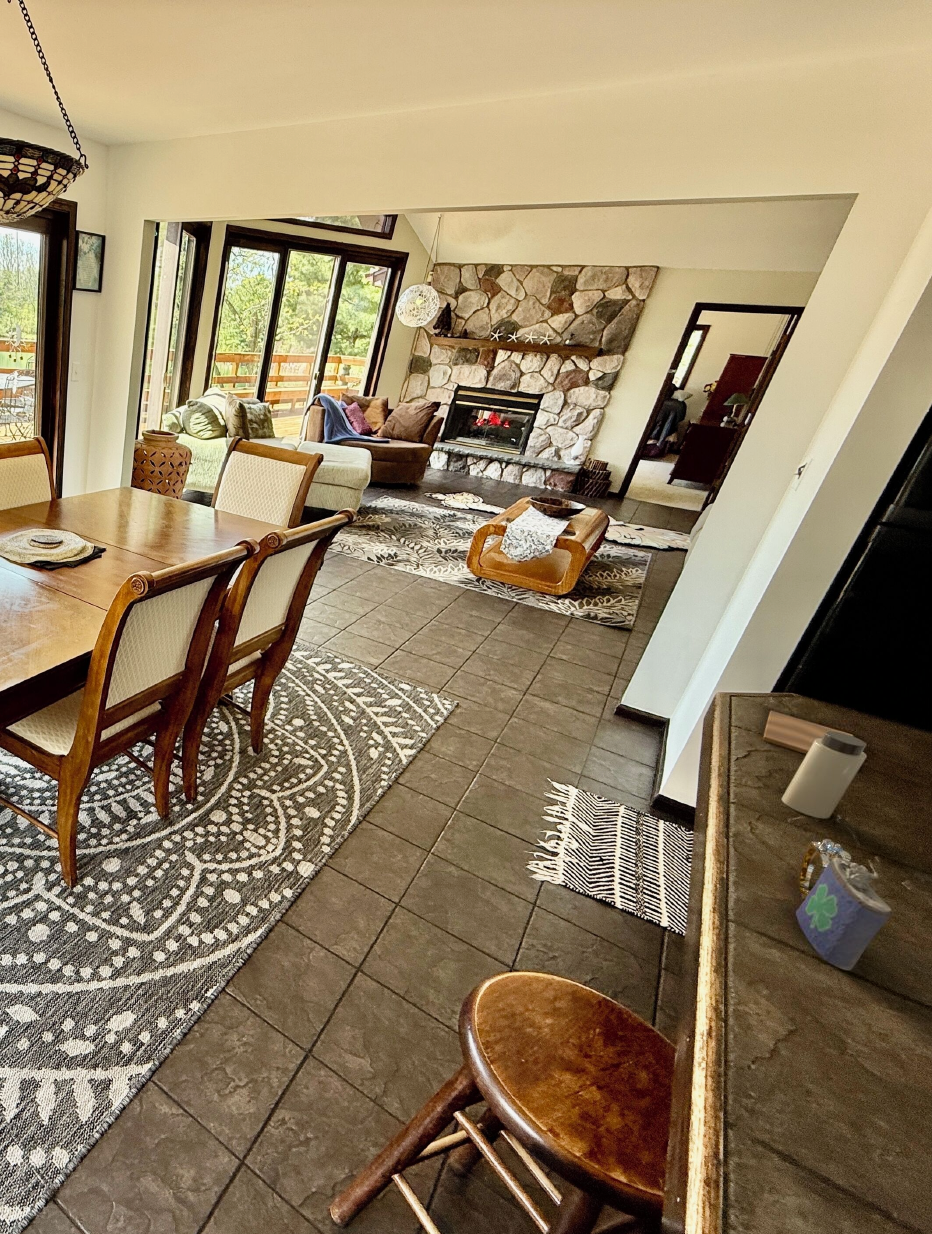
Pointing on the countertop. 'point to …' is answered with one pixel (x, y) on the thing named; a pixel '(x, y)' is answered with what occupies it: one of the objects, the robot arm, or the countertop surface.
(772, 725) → the wooden board
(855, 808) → the countertop surface
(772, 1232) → the countertop surface
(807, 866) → the ring
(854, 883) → the flask
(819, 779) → the salt mill
